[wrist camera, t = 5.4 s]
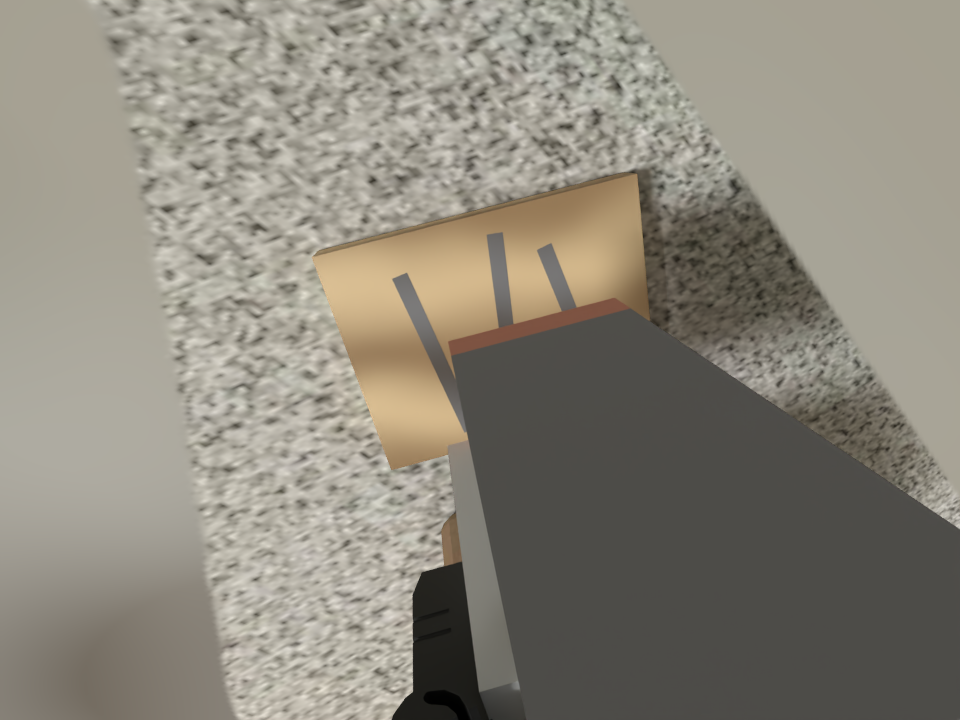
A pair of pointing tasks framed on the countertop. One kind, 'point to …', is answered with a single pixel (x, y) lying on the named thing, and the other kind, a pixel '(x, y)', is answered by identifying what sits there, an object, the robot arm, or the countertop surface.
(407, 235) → the board
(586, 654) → the block
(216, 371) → the countertop surface
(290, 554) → the countertop surface
